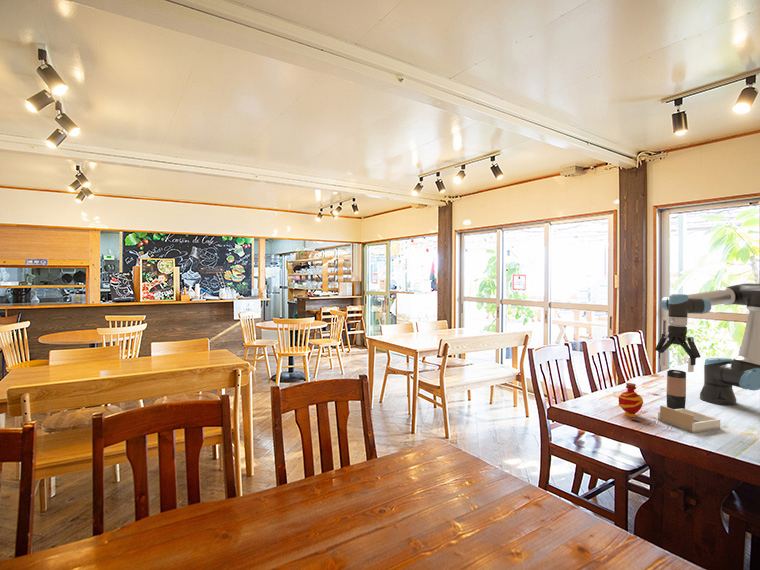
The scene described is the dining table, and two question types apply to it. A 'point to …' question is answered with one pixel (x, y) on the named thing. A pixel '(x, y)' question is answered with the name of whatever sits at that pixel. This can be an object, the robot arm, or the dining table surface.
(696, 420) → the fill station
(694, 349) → the robot arm
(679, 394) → the travel mug
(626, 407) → the potion bottle
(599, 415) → the dining table surface
